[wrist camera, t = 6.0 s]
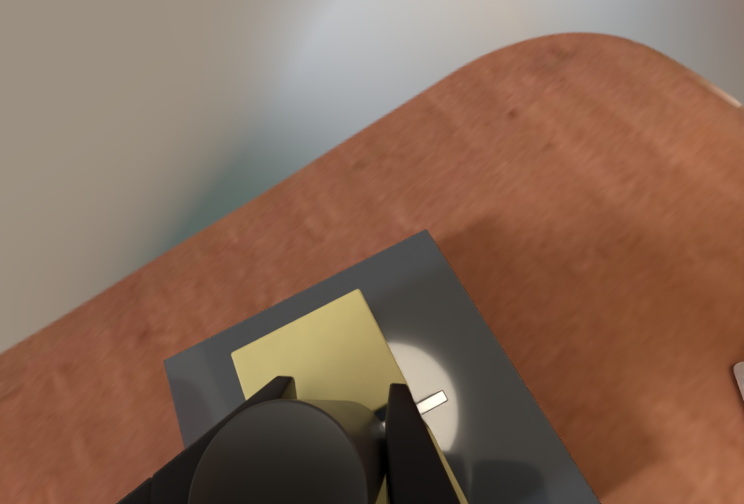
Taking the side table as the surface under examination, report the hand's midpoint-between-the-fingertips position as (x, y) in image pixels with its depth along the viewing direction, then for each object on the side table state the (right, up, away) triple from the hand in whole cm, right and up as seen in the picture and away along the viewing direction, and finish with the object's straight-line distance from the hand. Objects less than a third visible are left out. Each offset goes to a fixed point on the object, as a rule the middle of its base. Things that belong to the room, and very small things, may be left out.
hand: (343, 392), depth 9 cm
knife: (0, -3, +3) cm, 4 cm away
